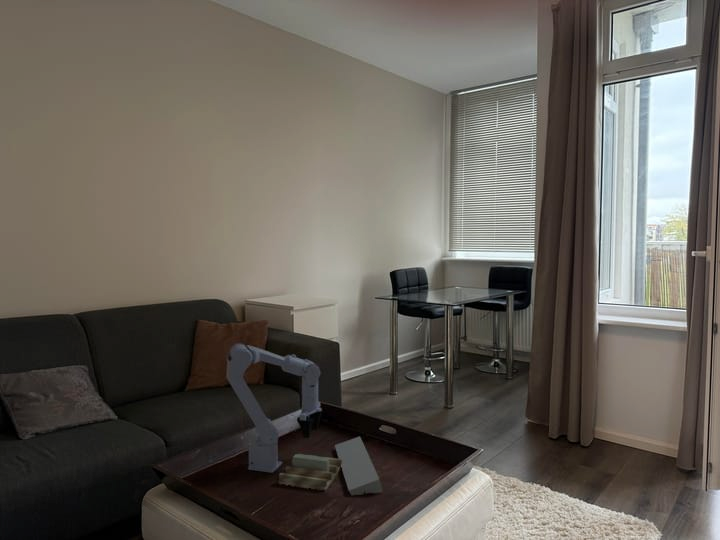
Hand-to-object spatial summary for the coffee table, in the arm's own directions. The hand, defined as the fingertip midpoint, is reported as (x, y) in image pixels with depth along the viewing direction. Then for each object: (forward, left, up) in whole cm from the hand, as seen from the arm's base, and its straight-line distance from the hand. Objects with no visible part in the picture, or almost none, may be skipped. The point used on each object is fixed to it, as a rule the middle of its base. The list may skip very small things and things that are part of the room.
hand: (310, 433), depth 179 cm
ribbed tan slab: (+5, -11, -9) cm, 16 cm away
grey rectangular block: (+18, -3, -10) cm, 21 cm away
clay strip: (+5, -11, -8) cm, 15 cm away
